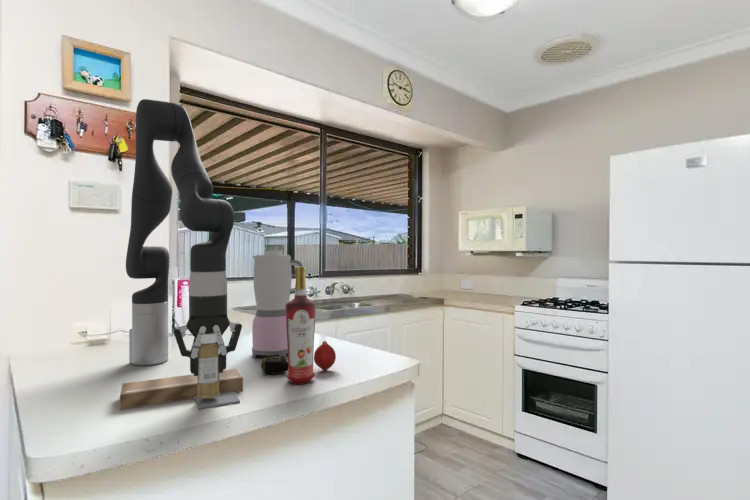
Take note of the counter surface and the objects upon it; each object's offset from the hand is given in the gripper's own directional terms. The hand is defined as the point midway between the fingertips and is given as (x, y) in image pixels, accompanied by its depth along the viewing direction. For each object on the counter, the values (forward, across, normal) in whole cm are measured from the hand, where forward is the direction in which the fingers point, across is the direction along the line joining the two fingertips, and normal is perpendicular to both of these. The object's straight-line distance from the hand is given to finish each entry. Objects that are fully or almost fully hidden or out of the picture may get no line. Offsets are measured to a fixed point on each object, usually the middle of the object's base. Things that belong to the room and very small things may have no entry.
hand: (208, 373), depth 88 cm
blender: (+6, +24, +33) cm, 41 cm away
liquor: (+6, +22, +4) cm, 23 cm away
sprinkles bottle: (+5, 0, 0) cm, 5 cm away
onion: (+6, +30, +10) cm, 32 cm away
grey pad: (+6, +2, 0) cm, 6 cm away
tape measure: (+6, +19, +15) cm, 25 cm away
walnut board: (+6, -4, +8) cm, 11 cm away
